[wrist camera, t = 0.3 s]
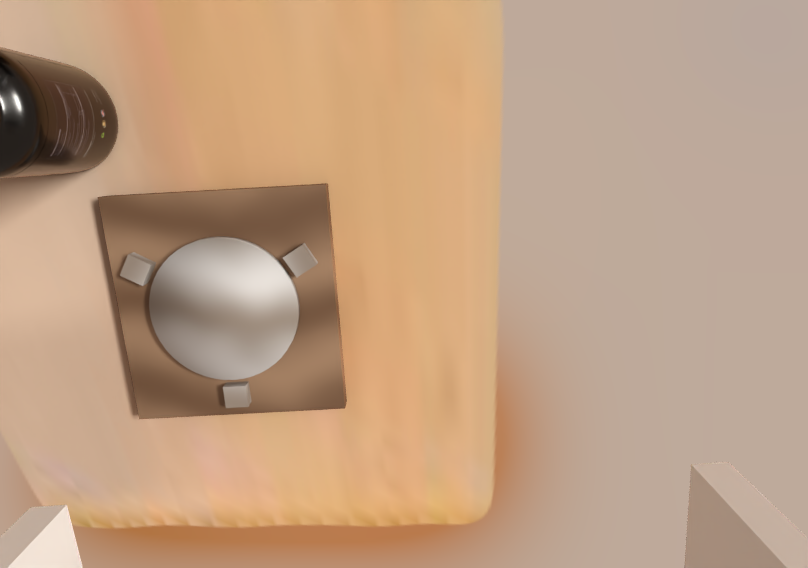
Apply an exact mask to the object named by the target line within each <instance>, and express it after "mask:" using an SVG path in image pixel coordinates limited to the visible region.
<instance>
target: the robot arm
mask: <svg viewBox="0 0 808 568" xmlns="http://www.w3.org/2000/svg"><path fill="white" fill-rule="evenodd" d="M0 568H83V567H82V563H81V559H80V555H79V551H78V547H77V543H76V539H75V535H74V531H73V527H72V524H71V520H70V516H69V512H68V508H67V505H57V506H42V507H31V508H29V509H28V510H27V511H26V512H25V513H24V514H23V515H22V516H21V517H20V518H19V519H18V520H17V521H16V522H15V523H14V524H13V525H12V526H11V527H10V528H9V529H8V530H7V531H6V532H5V533H4V534H3V535H2V536H0ZM684 568H808V537H807V536H805V535H804V534H803V533H802V532H801V531H800V530H799V529H798V528H797V527H796V526H795V525H794V524H793V523H792V522H791V521H790V520H789V519H788V518H787V517H785V516H784V515H783V514H782V513H781V512H780V511H779V510H778V509H777V508H776V507H775V506H774V505H773V504H772V503H771V502H770V501H769V500H768V499H767V498H766V497H765V496H763V495H762V494H761V493H760V492H759V491H758V490H757V489H756V488H755V487H754V486H753V485H752V484H751V483H750V482H749V481H748V480H747V479H746V478H745V477H744V476H743V475H741V474H740V473H739V472H738V471H737V470H736V469H735V468H734V467H733V466H732V465H731V464H730V463H729V462H721V463H705V464H692V465H691V477H690V493H689V507H688V522H687V537H686V552H685V567H684Z"/></svg>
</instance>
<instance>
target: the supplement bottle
mask: <svg viewBox="0 0 808 568" xmlns="http://www.w3.org/2000/svg"><path fill="white" fill-rule="evenodd" d="M117 133H118V120H117V114H116V110H115V107H114V104H113V102H112V100H111V98H110V96H109V95H108V93H107V91H106V90H105V89H104V88H103V86H102V85H101V84H100V83H99V82H98V81H97V80H96V79H95V78H93V77H92V76H91V75H89V74H88V73H86V72H85V71H83V70H81V69H79V68H76V67H74V66H71V65H68V64H64V63H61V62H57V61H53V60H49V59H45V58H41V57H37V56H33V55H29V54H25V53H21V52H18V51H14V50H10V49H6V48H2V47H0V179H2V178H14V177H27V176H39V175H52V174H64V173H73V172H80V171H85V170H88V169H91V168H93V167H95V166H97V165H98V164H100V163H101V162H102V161H103V160H104V159H105V158H106V157H107V156H108V155H109V154H110V152H111V151H112V149H113V147H114V144H115V142H116V138H117Z"/></svg>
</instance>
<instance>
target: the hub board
mask: <svg viewBox="0 0 808 568" xmlns="http://www.w3.org/2000/svg"><path fill="white" fill-rule="evenodd" d="M98 202H99V208H100V213H101V218H102V224H103V229H104V234H105V240H106V245H107V250H108V256H109V261H110V266H111V272H112V277H113V282H114V288H115V293H116V298H117V304H118V309H119V314H120V319H121V325H122V330H123V335H124V341H125V346H126V351H127V357H128V362H129V367H130V373H131V378H132V383H133V389H134V394H135V399H136V405H137V410H138V415H139V419H151V418H170V417H189V416H208V415H227V414H246V413H265V412H285V411H304V410H323V409H342V408H345V406H346V401H347V399H346V388H345V376H344V365H343V353H342V342H341V330H340V319H339V307H338V296H337V284H336V273H335V261H334V250H333V238H332V226H331V215H330V203H329V192H328V184H312V185H294V186H276V187H258V188H240V189H222V190H204V191H186V192H168V193H150V194H132V195H114V196H103V197H98Z"/></svg>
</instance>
